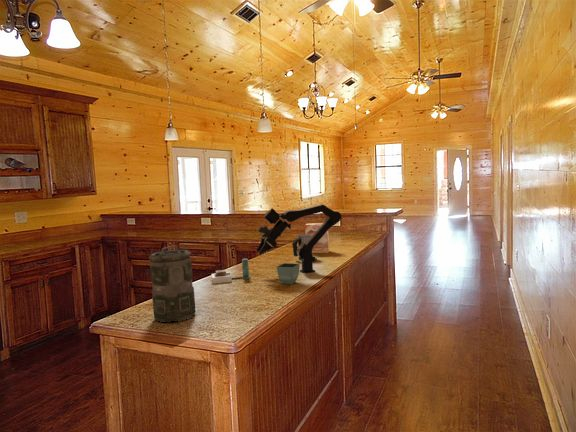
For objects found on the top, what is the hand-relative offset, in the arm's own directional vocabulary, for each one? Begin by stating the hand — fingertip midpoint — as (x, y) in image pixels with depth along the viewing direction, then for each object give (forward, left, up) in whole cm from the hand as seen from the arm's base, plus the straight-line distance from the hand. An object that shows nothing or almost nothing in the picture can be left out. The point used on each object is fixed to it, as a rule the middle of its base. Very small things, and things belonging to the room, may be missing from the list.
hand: (258, 252), depth 226 cm
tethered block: (+4, +13, -13) cm, 19 cm away
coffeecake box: (+36, -61, -13) cm, 72 cm away
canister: (-38, +55, -13) cm, 68 cm away
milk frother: (+20, -43, -13) cm, 49 cm away
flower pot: (-23, -5, -13) cm, 27 cm away
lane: (+6, +19, -13) cm, 24 cm away
